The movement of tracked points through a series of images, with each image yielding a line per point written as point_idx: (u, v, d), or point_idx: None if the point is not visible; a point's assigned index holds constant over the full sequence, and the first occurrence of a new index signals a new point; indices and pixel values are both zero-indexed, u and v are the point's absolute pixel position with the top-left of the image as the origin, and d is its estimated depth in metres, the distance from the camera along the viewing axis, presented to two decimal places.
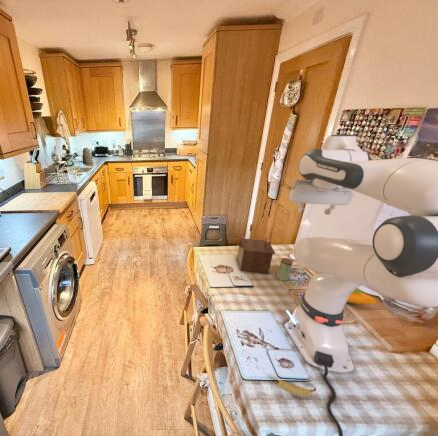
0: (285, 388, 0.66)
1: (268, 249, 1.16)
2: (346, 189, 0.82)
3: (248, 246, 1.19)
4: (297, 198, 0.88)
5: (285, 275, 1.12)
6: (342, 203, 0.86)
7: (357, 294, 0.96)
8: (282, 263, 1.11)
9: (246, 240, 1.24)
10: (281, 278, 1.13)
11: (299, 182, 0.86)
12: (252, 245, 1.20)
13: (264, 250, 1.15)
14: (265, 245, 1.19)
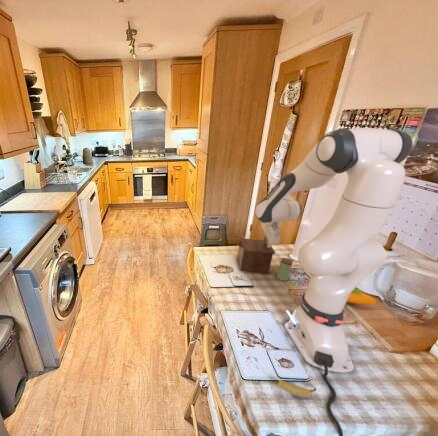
0: (285, 388, 0.66)
1: (268, 249, 1.16)
2: None
3: (248, 246, 1.19)
4: None
5: (285, 275, 1.12)
6: None
7: (357, 294, 0.96)
8: (282, 263, 1.11)
9: (246, 240, 1.24)
10: (281, 278, 1.13)
11: None
12: (252, 245, 1.20)
13: (264, 250, 1.15)
14: (265, 245, 1.19)
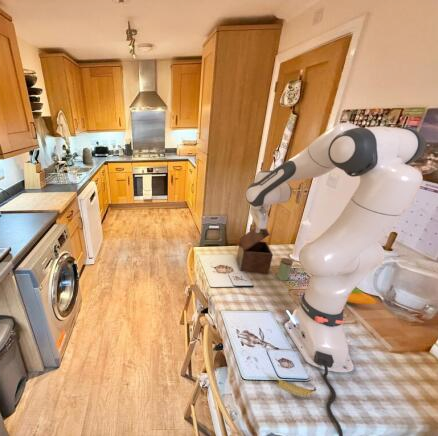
0: (285, 388, 0.66)
1: (263, 233, 1.13)
2: None
3: (246, 243, 1.18)
4: None
5: (285, 275, 1.12)
6: None
7: (357, 294, 0.96)
8: (282, 263, 1.11)
9: (244, 237, 1.24)
10: (281, 278, 1.13)
11: None
12: (249, 239, 1.19)
13: (259, 237, 1.13)
14: (260, 230, 1.17)
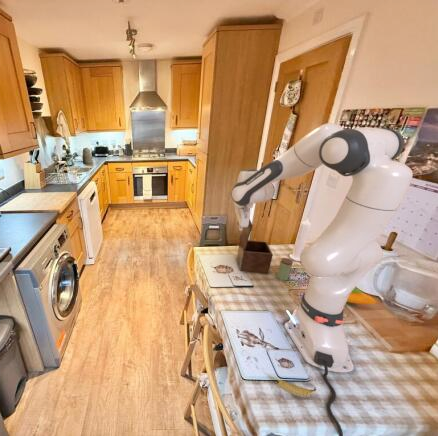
0: (285, 388, 0.66)
1: (248, 226, 1.13)
2: None
3: (243, 241, 1.18)
4: None
5: (285, 275, 1.12)
6: None
7: (357, 294, 0.96)
8: (282, 263, 1.11)
9: (241, 235, 1.24)
10: (281, 278, 1.13)
11: (247, 210, 1.05)
12: (243, 237, 1.19)
13: (247, 232, 1.13)
14: None
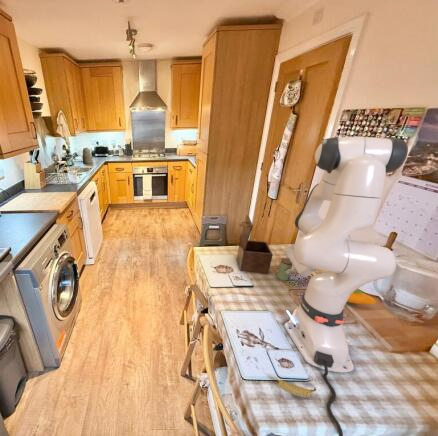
0: (285, 388, 0.66)
1: (248, 227, 1.13)
2: None
3: (243, 241, 1.18)
4: None
5: (285, 275, 1.12)
6: None
7: (357, 294, 0.96)
8: (282, 263, 1.11)
9: (241, 235, 1.24)
10: (281, 278, 1.13)
11: None
12: (243, 237, 1.19)
13: (248, 232, 1.13)
14: (247, 224, 1.17)
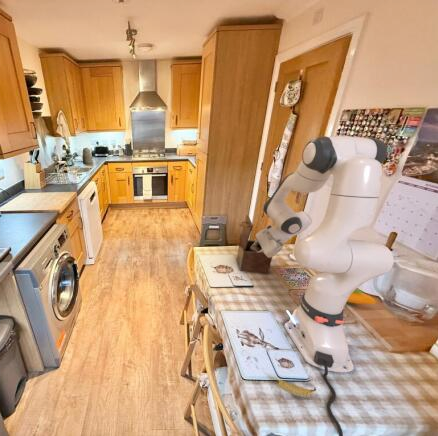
0: (285, 388, 0.66)
1: (248, 227, 1.13)
2: None
3: (243, 241, 1.18)
4: None
5: None
6: None
7: (357, 294, 0.96)
8: (251, 250, 1.20)
9: (241, 235, 1.24)
10: None
11: None
12: (243, 237, 1.19)
13: (248, 232, 1.13)
14: (247, 224, 1.17)
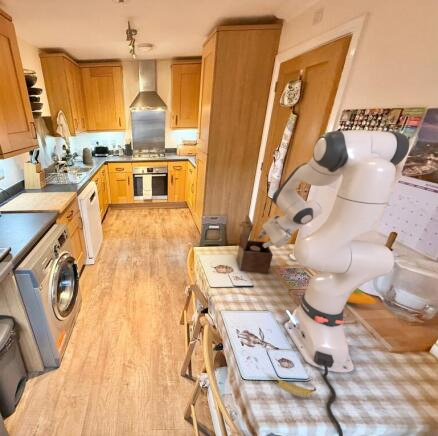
0: (285, 388, 0.66)
1: (248, 227, 1.13)
2: None
3: (243, 241, 1.18)
4: None
5: None
6: None
7: (357, 294, 0.96)
8: (251, 250, 1.20)
9: (241, 235, 1.24)
10: None
11: None
12: (243, 237, 1.19)
13: (248, 232, 1.13)
14: (247, 224, 1.17)
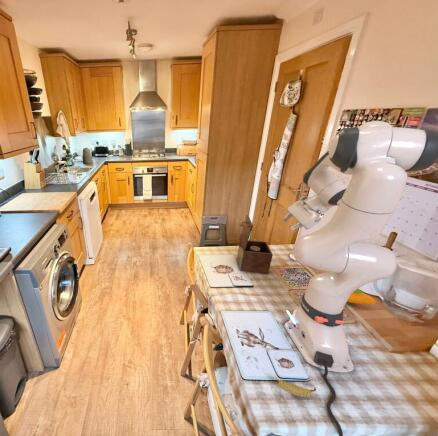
0: (285, 388, 0.66)
1: (248, 227, 1.13)
2: None
3: (243, 241, 1.18)
4: None
5: None
6: None
7: (357, 294, 0.96)
8: (251, 250, 1.20)
9: (241, 235, 1.24)
10: None
11: None
12: (243, 237, 1.19)
13: (248, 232, 1.13)
14: (247, 224, 1.17)
